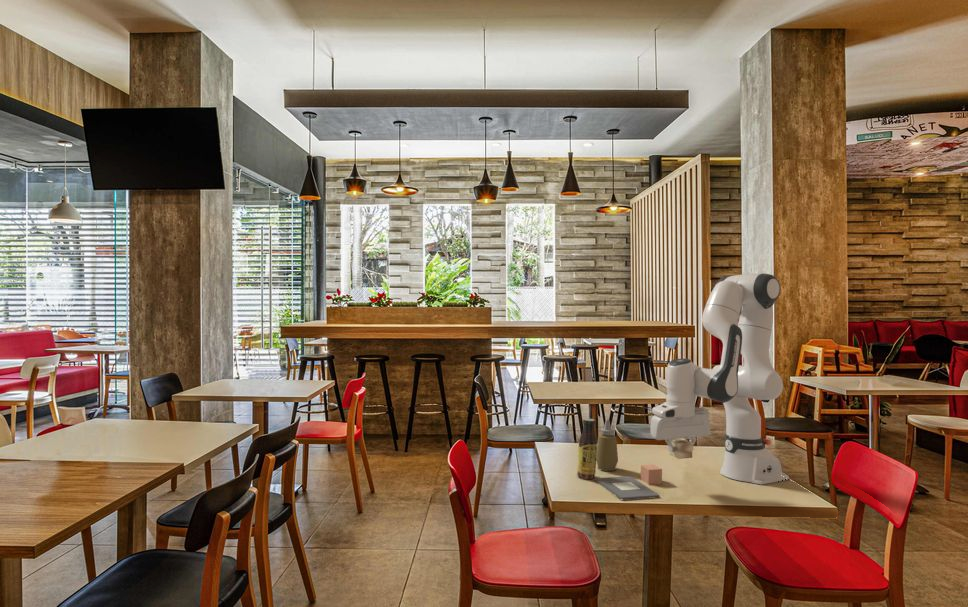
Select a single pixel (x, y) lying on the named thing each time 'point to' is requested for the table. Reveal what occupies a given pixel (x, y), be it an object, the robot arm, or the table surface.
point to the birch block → (682, 448)
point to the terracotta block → (651, 474)
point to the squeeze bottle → (607, 449)
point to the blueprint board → (626, 487)
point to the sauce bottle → (587, 451)
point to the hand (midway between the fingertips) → (680, 450)
